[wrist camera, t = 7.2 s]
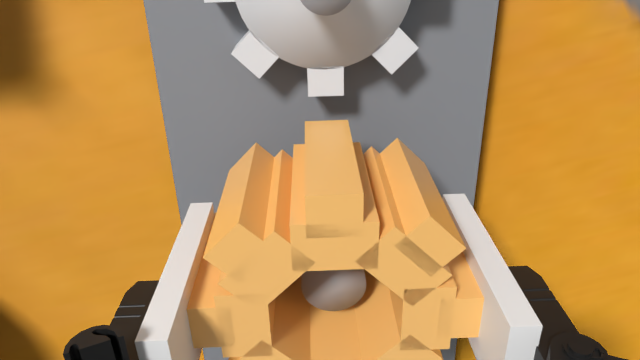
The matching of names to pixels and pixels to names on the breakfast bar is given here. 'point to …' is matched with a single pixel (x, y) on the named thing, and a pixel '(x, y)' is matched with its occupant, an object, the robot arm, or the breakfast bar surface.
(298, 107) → the gear board
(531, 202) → the breakfast bar surface
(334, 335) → the orange gear
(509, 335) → the robot arm
